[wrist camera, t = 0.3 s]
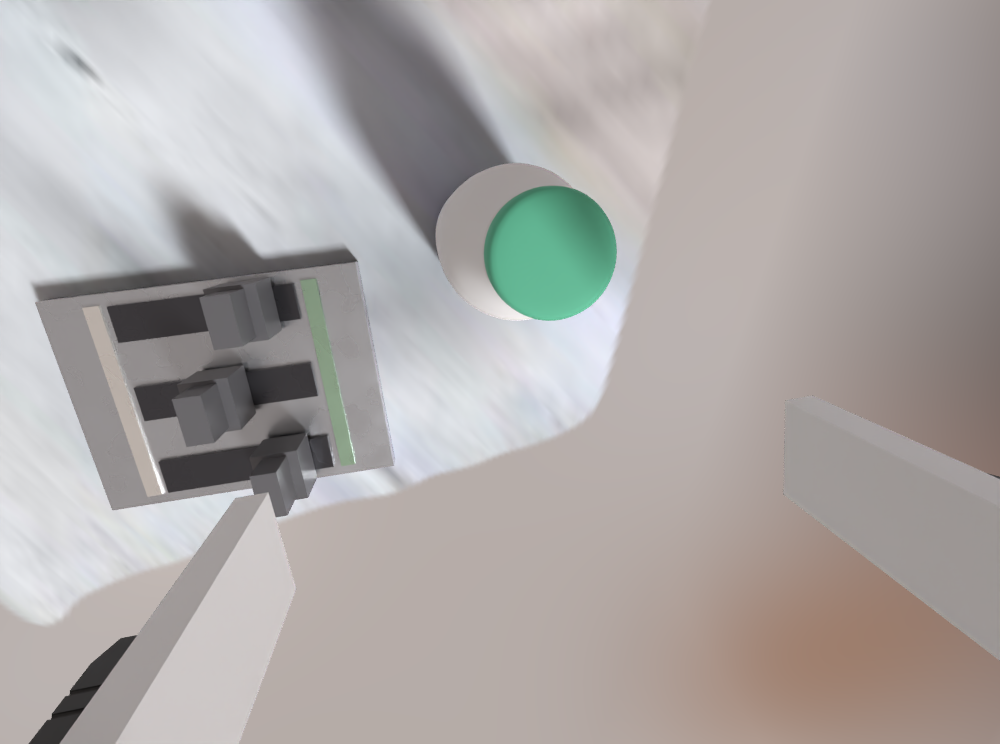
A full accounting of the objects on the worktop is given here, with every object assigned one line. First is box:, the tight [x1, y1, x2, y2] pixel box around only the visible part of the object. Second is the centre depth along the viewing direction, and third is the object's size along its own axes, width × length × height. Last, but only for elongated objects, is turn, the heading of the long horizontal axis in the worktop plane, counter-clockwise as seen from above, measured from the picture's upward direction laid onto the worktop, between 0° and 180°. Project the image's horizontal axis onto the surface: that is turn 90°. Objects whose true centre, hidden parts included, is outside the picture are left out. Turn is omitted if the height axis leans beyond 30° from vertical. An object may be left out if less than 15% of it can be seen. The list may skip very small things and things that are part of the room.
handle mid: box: [172, 365, 256, 447], centre depth 33 cm, size 4×3×5 cm
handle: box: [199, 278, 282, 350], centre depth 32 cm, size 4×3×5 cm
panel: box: [35, 261, 395, 510], centre depth 37 cm, size 15×20×2 cm
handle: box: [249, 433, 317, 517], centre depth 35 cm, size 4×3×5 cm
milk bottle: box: [435, 163, 617, 321], centre depth 27 cm, size 8×8×20 cm
